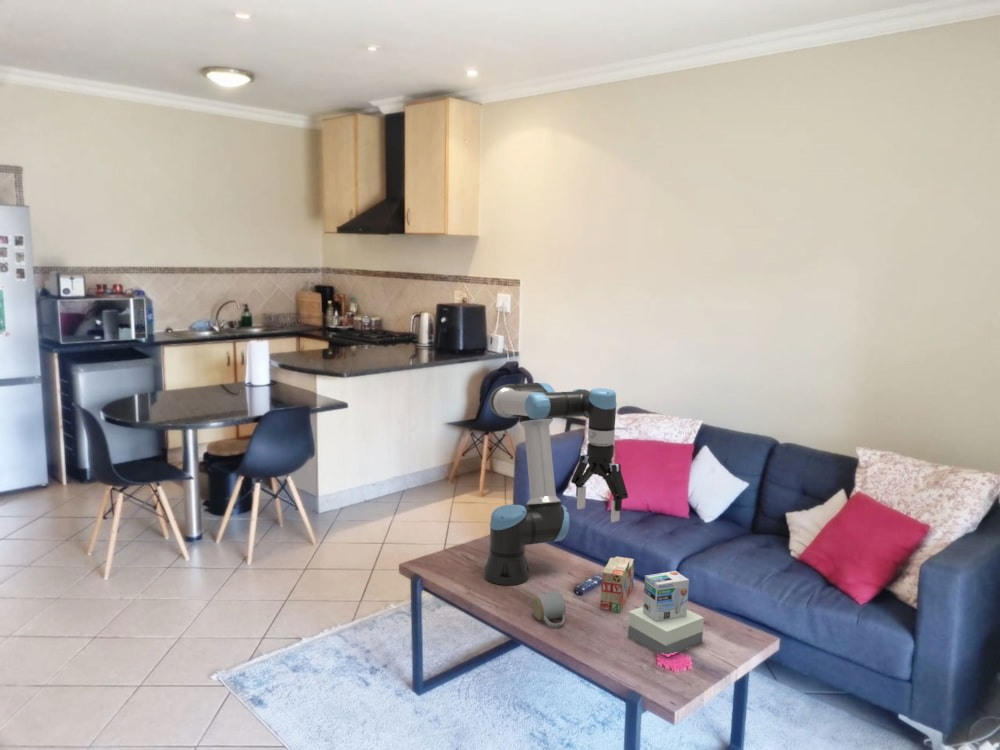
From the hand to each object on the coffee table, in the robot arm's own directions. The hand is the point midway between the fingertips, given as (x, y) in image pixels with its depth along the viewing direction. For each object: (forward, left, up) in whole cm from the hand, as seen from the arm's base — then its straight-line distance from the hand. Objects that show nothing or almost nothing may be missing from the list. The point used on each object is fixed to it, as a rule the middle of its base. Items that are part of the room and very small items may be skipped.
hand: (597, 514), depth 217 cm
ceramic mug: (-6, -11, -32) cm, 34 cm away
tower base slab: (+21, +7, -32) cm, 39 cm away
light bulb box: (+21, +7, -25) cm, 33 cm away
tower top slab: (+21, +7, -28) cm, 36 cm away
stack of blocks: (-5, +16, -32) cm, 36 cm away
